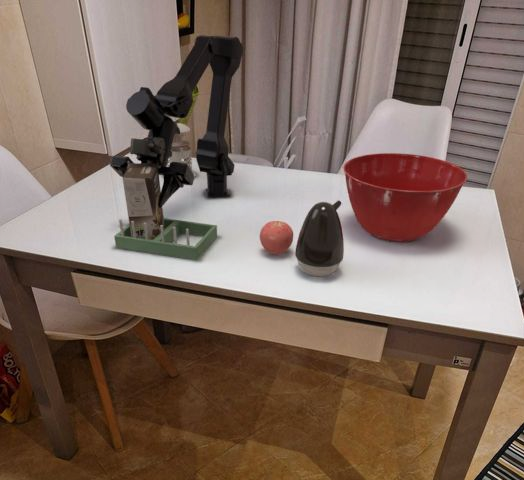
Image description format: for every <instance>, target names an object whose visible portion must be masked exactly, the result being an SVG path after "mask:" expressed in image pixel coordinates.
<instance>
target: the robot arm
mask: <svg viewBox="0 0 524 480" xmlns="http://www.w3.org/2000/svg"><path fill="white" fill-rule="evenodd" d="M243 54H244V46H243V43H242V42H241V40H240V38H239V37H238V36H231V35H220V34H219V35H218V34H215V35H208V34H207V35H206V34H200V35H197V36H196V37H195V39H194V45H193V47H192V48H191V50H190V51H189V53H188V55H187V57H186V58H185V60H184V61H183V63H182V64H181V66H180V68H179V69H178V71H177V73H176V75H175V76H174V77H173V78H172V79H170V80H168V81H167V82H164V83H163V85H162V86H161V87H160V88H159V89H158V90H157V92H156V94H154V93H153V92H152V90H151V89H150V87H145V86H140V89H139V91H136V92H134V93H133V94H132V95H131V96H130V97H128V99H127V100H126V104H125V109H126V111H127V113H128V114H129V115H130V116H131V117H132V118H133V119H134V120H135V121H136V122H137V123H138V125H140V126H141V128H143V129H144V130H146V131H148V133H147V137H144V138H143V139H142V138H130V148H129V149H130V151H129V154H130V155H135V156H136V157H135V158H136V159H137V161H139V162H140V163H156V164H158V171H159V176H163V184H162V186H161V189H160V190H161V193H160V197H159V202H158V207H159V208H161V207H162V208H163V207H164V205H165V204H166V203H167V202H168V200H169V199H170V198H171V197H172V196H173V195H174V194H175V193H177V191H178V190H179V189H182V188H184V187H185V186H193V185H194V182H195V181H194V180H195V177H194V174H193V172H194V171H193V170H192V171H193V172H192V171H191V169H190V168H189V166H188V165H187V163H181V162H171V163H168V160H169V157H172V152H173V151H172V150H171V146H172V142H173V140H174V138H175V135H176V134H177V135H178V134H179V135H180V129H179V127H178V126H177V123H178V122H177V121H176V122H175V120H173V118H174V119H175V118H176V119H186V118H187V116H188V115H189V113H190V111H191V109H192V106H193V103H194V95H193V93H194V92H195V91H194V90H195V88H196V87H197V85H198V83H200V80H201V78H202V77H203V75H204V73H205V72H206V70H207V68H208V66H209V67H210V69H211V72H212V77H211V86H210V87H211V89H210V96H209V105H208V113H207V121H206V128H205V129H206V130H205V134H204V135H203V136H202V138H197V142H196V151H195V157H196V158H195V160H196V163H197V166H198V169H199V172H200V173H206V188H205V189H204V191H205V195H206V197H207V198H208V199H212V198H229V197H231V194H230V191H229V189H228V176H233V173H234V170H235V163H234V162H233V160H232V159H231V158H230V156H229V146H228V143H227V139H226V138H225V133H226V125H227V116H228V112H229V111H228V110H229V102H230V94H231V88H232V87H231V86H232V80H233V77H234V75H235V74H236V72H237V71H238V70H239V68H240V66H241V61H242V57H243ZM171 151H172V152H171ZM131 163H134V161H133V160H132V159H131V158H130V157H129V156H126V155H117V154H115V155H113V156H112V157H111V159H110V162H109V166H110V168H111V169H112V170H113V171H115V172H116V174H117V175H119V177H121V178H123V176H124V174H125V172H126V171H127V169H128V167H129V165H130V164H131ZM167 163H168V164H170V166H169V167H167Z"/></svg>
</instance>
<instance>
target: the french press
mask: <svg viewBox="0 0 524 480" xmlns="http://www.w3.org/2000/svg"><path fill="white" fill-rule="evenodd" d="M174 122H177V118H175V117H174ZM177 126H178V127H179V129H180V134H175V135H176V136H179V137H180V139H178V138H176V139H173V142H172V146H171V152H172V157H169V159H168V163H167V167H169V166H170V163H171V162H181V163H187V165H188V166H189V168H190V169H191V171H192V172H193V174H194V178H195V177H196V176H197V175H196V173H195V172H194V171H193V166H192V165H193V162H192V159H193V158H192V148H191V146H189V145H190V142H189V141H188V137H187V133H188V132H190V130H191V128H190V127H189V126H187V125H186V124H184V123H181V122H177ZM184 135H185V140H183V139H182V138H183V136H184Z"/></svg>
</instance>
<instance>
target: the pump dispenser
mask: <svg viewBox="0 0 524 480" xmlns="http://www.w3.org/2000/svg"><path fill="white" fill-rule="evenodd" d="M341 205H342V201H341V200H337V201H335V202H334V203H333V204H332V203H330V202H327V201H320V202H317V203H315V204H314V205H312V206H311V208H310V209H309V210H308V212H307V214H306V216H305V218H304V220H303V222H302V225H301V228H300V231H299V234H298V237H297V241H296V245H295V252H294V254H295V258H296V259H297V260H296V261H297V264H298V266H299V267H300V269H301V271H303V272H304V273H305V274H307V275H310V276H313V277H326V276H329V275H331V274H333V273H334V272H336V270H337V269H338V268H339V267H340V265H341V262H342V261H343V259H344V256H345V255H344V254H345V253H344V252H345V245H344V244H345V243H344V232H343V227H342V223H341V218H340V216H339V213H338V211H337V210H338V209H339V208H340V206H341Z"/></svg>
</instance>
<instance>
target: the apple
mask: <svg viewBox="0 0 524 480" xmlns="http://www.w3.org/2000/svg"><path fill="white" fill-rule="evenodd" d="M259 240H260V244H261V246H262V247H263V249H264V250H265V251H266V252H267V253H269V254H271V255H276V256H278V255H283V254H285V252H287V251H288V250H289V248H291V246H292V244H293V242H294V230H293V229H292V226H290V224H288V223H287V222H285V221H281V220H271V221H268V222H266V223H265V224H264V225H262V228H261V229H260V231H259Z"/></svg>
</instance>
